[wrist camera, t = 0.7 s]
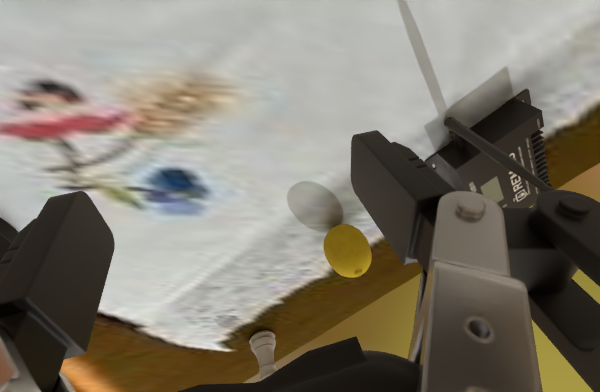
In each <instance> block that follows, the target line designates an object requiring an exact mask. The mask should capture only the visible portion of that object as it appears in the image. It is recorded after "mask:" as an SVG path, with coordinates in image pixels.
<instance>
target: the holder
mask: <svg viewBox="0 0 600 392" xmlns="http://www.w3.org/2000/svg"><path fill="white" fill-rule="evenodd" d="M17 234H18V232H17V231H16V230H15V229H14V228H13V227H12V226H11V225H9V224H8V223H7V222H5V221H4V220H2V219H1V218H0V261H1V259H2V257H3V256H4V254H5V253H6V252H8V248H9V246H10V245H11V243H12V242H13V240H14V239H15V237H16V235H17Z"/></svg>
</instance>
